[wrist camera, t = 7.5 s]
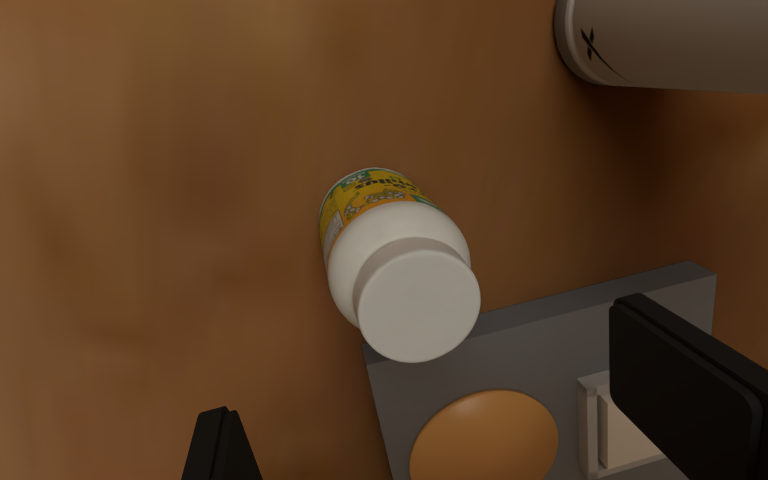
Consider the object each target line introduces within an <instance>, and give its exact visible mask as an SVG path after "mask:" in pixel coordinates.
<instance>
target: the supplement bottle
mask: <svg viewBox="0 0 768 480" xmlns="http://www.w3.org/2000/svg"><path fill="white" fill-rule="evenodd" d="M319 232H320V239H321V244H322V250H323V255H324V261H325V267H326V273H327V279H328V284H329V289H330V292H331V295H332V298H333V300H334V302H335V304H336V306H337V308H338V309H339V311H340V312H341V313H342V315H343V316H344V317H345V318H346V319H347V320H348V321H349V322H350V323H352V324H353V325H354V326H356V327H357V328H359V329H360V330H361V333H362V335H363V336H364V338H365V340H366V341H367V342H368V344H369V345H370V346H371V347H372V348H373V349H374V350H375V351H377V352H378V353H380V354H381V355H383V356H385V357H387V358H389V359H392V360H395V361H399V362H406V363H418V362H425V361H429V360H432V359H435V358H438V357H441V356H442V355H444V354H446V353H448V352H450V351H451V350H453V349H454V348H455V347H457V346H458V345H459V344H460V343H461V342H462V341H463V340H464V339H465V338H466V336H467V335H468V334H469V333H470V331H471V330H472V328H473V326H474V324H475V322H476V320H477V317H478V314H479V309H480V304H481V303H480V290H479V285H478V282H477V280H476V278H475V276H474V274H473V272H472V271H471V262H470V254H469V250H468V246H467V243H466V241H465V239H464V236H463V235H462V233H461V231H460V230H459V228H458V227H457V226H456V224H455V223H454V222H453V221H452V220H451V219H450V218H449V217H448V216H447V215H446V214H445V213H444V212H443V211H442V210H440V209H439V208H438V207H437V206H436V205H435V204H434V203H433V202H432V201H431V200H430V199H429V198H428V197H427V196H426V195H425V194H424V193H423V192H422V191H420V190H419V188H418V187H417V186H415V185H414V184H413V183H412V182H411V181H410V180H409V179H408V178H406V177H405V176H403V175H402V174H400V173H398V172H395V171H392V170H389V169H385V168H366V169H362V170H359V171H356V172H354V173H352V174H350V175H347V176H345V177H344V178H342V179H341V180H339V181H338V182H337V183H336V184H335V185H333V186H332V188H331V189H330V190H329V192H328V193H327V195H326V196H325V198H324V200H323V203H322V205H321V209H320V214H319Z"/></svg>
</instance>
